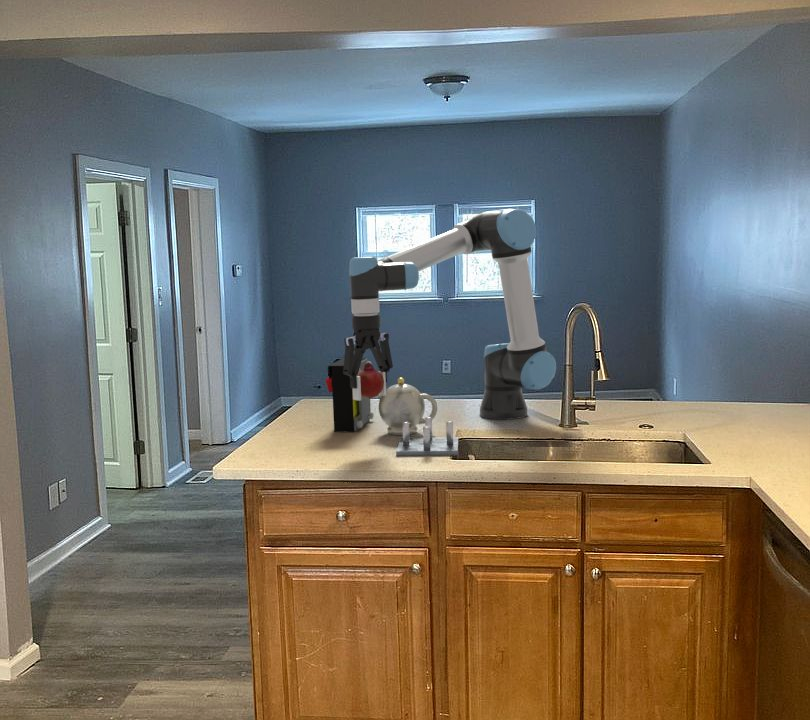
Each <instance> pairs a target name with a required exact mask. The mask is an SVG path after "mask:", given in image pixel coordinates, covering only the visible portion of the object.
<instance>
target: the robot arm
mask: <svg viewBox="0 0 810 720" xmlns="http://www.w3.org/2000/svg"><path fill="white" fill-rule="evenodd" d="M536 237H537V227H536V222H535V220H534V219H533V217H532V216H531V214H529V213H528V212H526V211H525V210H522V209H520V208H519V209H518V208H506V209H497V210H496V209H495V210H488V211H487V210H486V211H483V212H481V213H479V214H477V215H475V216H472V217H470V218H468V219H466V220H464V221H462V222H459V223H457V224H455V225H454V226H453V227H452V229H451V230H448V231H447V232H443V233H441V234H439V235H436V236H434V237H432V238H429V239H426V240H424V241H422V242H420V243H417V244H414V245H412V246H409V247H406V248H405V249H402V250H400V251H398V252H395V253H393V254H391V255H388V256H385V257H383V258H381V259H379V260H378V258H377V257H376V256H360V257H359V256H357V257H356V256H355V257H352V258H351V259H350V260H349V271H348V276H349V285H350V304H351V313H352V317H351V323H352V324H351V327H352V330H353V334H352V336H350V337H345V338H344V339H343V341H344V346H345V347H344V357H343V358H344V369H343V374H345V375H348V376H350V386H351V388H353V400H358V401H360V400H361V383H360V376H357V375H358V372H359V368H360V365H361V361H362V358H364V357H363V356H364V354H365V353H366V350H370V351H371V353H372V356H373V358H374V361H375V363H376V365H377V369H378V371H379V372H380V373H381V374H382V376H383V379H384V387H383V389H382V391H381V392H380V393H379V394H378V395H382V396H386V389H387V383H388V372H390V369H393V367H394V364H393V359H392V353H391V349H390V343H389V338H390V337H389V336H390V334H389V333H387V332H381V331H380V328H381V316H380V312H381V310H380V292H383V291H384V292H385V291H388V292H389V291H402V290H403V291H406V290H411V289H415V288H416V287H417V286H418V284H419V278H420V275H419V274H420V272H421V271H422V270H425V269H427V268H431V267H432V266H435V265H437V264H440V263H441V262H443V261H446V260H450V259H452V258H454V257H456V256H458V255H461V254H462V255H469V254H472V253H474V252H479V251H491V256H492V260H494V261H495V262H496V263H498V268H499V269H498V270H499V274H500V275H499V276H500V281H501V288H502V294H503V300H504V307H505V313H506V320H507V326H508V333H509V338H510V339H509V340H510V341H509V342H508V343H497V344H496V343H495V344H488V345H486V346H485V347H484V352H483V363H484V365H483V366H484V371H483V372H484V394H483V398H482V400H481V404H480V406H479V416H480V417H482V418H486V419H491V420H513V419H520V418H525V417H527V416H528V406H527V402H526V400H525V398H524V394H523V390H522V389H523V388H525V389H527V390H541V389H543V388H546V387H547V386H548V385H550V383H551V382H552V380H553V379H554V377H555V376H556V370H557V362H556V359H555V357H554V355H552V354H551V353H550V352H548V351H547V345H546V341H545V340H543V339H542V337H540V334H539V325H538V320H537V313H536V307H535V299H534V295H533V294H534V293H533V289H532V288H533V286H532V280H531V275H530V266H529V256H530V255H531V254H532V245H533V244H534V242H535V239H536ZM378 313H379V314H378Z"/></svg>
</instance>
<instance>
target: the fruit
mask: <svg viewBox="0 0 810 720" xmlns="http://www.w3.org/2000/svg"><path fill="white" fill-rule="evenodd" d="M371 363H372V362H371ZM371 363H369V362H367V363H366V364H365V366H364V369H363V370H361V371H360V372H359V373H358V375H357V376H360V383H361V396H364V397H367V398H369V399H370V400H371V399H373V398H376V397H378V396H377V395H378V394H379V393H380V392H381V391H382V389H383V387H384V379H383V376H382V374H381V373H380V372H379V371H380V370H376V369H375V368H374V366H373V363H372V364H371Z"/></svg>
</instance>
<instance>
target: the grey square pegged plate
mask: <svg viewBox="0 0 810 720" xmlns="http://www.w3.org/2000/svg"><path fill="white" fill-rule="evenodd" d="M424 419H425V426H423V427H422V436H423V437H410V435H409V422H402V428H403V435H402V437H401V438H400V440H399V441H398V442H399V443H398V446H397V448H396V451H395V454H396V457H407V456H408V457H410V456H414V457H415V456H416V457H418V456H422V457H423V456H424V457H425V456H427V457H428V456H458V452H459V437H458V436H454V422H453V421H450V420H448V421H445V426H446V427H445V431H446V432H445V433H446V434H445V435H446V436H445V437H444V436H443V437H442V436H440V437H439V436H438V437H433V420H432V417H429V416H425V418H424Z"/></svg>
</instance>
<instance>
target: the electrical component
mask: <svg viewBox="0 0 810 720" xmlns="http://www.w3.org/2000/svg"><path fill="white" fill-rule="evenodd" d="M367 362H369V363H371V364H372V365H373V363H372V362H371V361H369V360H368V358H366V357H363V358H362V361H361V365H360V368H359V372H360V371H361V370H363V369H364V366H365V364H366V363H367ZM343 369H344V357H343V358H340V359H339V360H337V361H335V362H333V363H331V364H329V365H328V366H327V376H328V378H326V379H325V382H326V386H327V391H328V393H332V410H333V430H334V433H355V432H357V431H358V430H360V429H362V428H363V426H364V425H366V424H367V423H368V422H369V421H371V420H373V419H374V412H373V411H372V409H371V408H372V407H371V398H370V399H369V398H367V397H364V396H361V400H360V401H358V400H353V388H351V386H350V376H348V375H345V374H343ZM359 372H358V373H359ZM354 431H355V432H354Z"/></svg>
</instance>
